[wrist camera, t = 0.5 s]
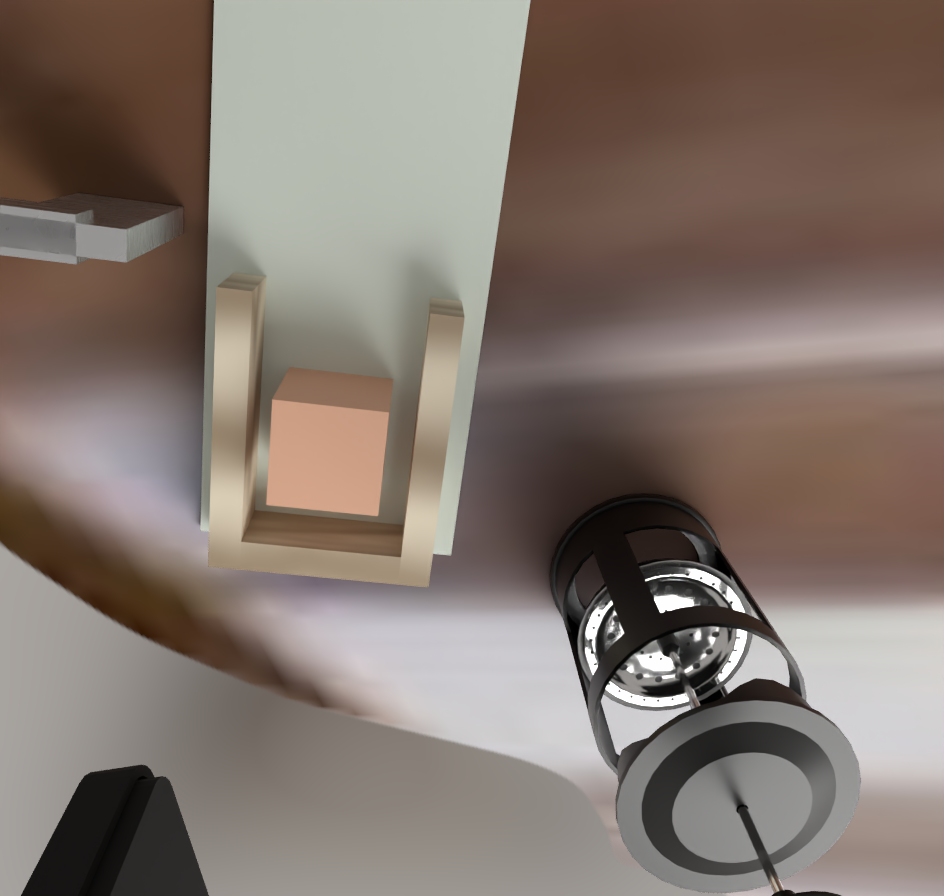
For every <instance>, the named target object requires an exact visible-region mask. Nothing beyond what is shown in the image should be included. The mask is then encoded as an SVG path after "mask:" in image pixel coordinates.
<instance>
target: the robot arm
mask: <svg viewBox="0 0 944 896" xmlns="http://www.w3.org/2000/svg"><path fill="white" fill-rule="evenodd" d="M21 896H209V895H208V892H207V889H206V886H205V883H204V880H203V877H202V874H201V871H200V868H199V865H198V862H197V859H196V856H195V853H194V850H193V847H192V844H191V841H190V839H189V836H188V833H187V830H186V827H185V824H184V821H183V818H182V815H181V812H180V809H179V806H178V803H177V800H176V797H175V794H174V791H173V788H172V786H171V783H170V781H169V780H168V779H167V778H166V777H163V776H161V777H154V775H153V773H152V772H151V770H150V769H149V768H148V767H147V766H145V765H137V766H130V767H124V768H117V769H110V770H104V771H97V772H90V773H89V774H87V775H85V776H84V778H83V779H82V780H81V782H80V783H79V785H78V787H77V789H76V791H75V793H74V795H73V796H72V799H71V801H70V802H69V804H68V806H67V808H66V810H65V812H64V814H63V816H62V818H61V820H60V821H59V823H58V825H57V827H56V829H55V831H54V833H53V835H52V837H51V839H50V841H49V843H48V844H47V847H46V848H45V850H44V852H43V854H42V856H41V858H40V860H39V862H38V864H37V866H36V868H35V869H34V871H33V873H32V875H31V877H30V879H29V881H28V883H27V885H26V887H25V889H24V891H23V893H22V895H21Z"/></svg>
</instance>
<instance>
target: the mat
mask: <svg viewBox="0 0 944 896" xmlns="http://www.w3.org/2000/svg"><path fill="white" fill-rule="evenodd" d="M529 7H530V0H214V24H213V63H212V101H211V140H210V179H209V217H208V256H207V295H206V333H205V372H204V411H203V449H202V488H201V527H200V531H206V532H209V518H210V485H211V452H212V418H213V385H214V351H215V318H216V287H217V286H218V285H219V284H221V283H222V282H223V281H224V280H225V279H227V278H228V277H229V276H230V275H231V274H232V273H242V274H250V275H258V276H266V277H267V280H266V299H265V319H264V339H263V359H262V378H261V398H260V418H259V438H258V458H257V477H256V497H255V510H259V511H269V512H279V513H289V514H299V515H309V516H319V517H329V518H339V519H349V520H359V521H369V522H379V523H389V524H399V525H403V521H404V512H405V504H406V495H407V487H408V479H409V470H410V462H411V453H412V445H413V437H414V428H415V420H416V411H417V403H418V395H419V386H420V378H421V370H422V361H423V353H424V344H425V336H426V328H427V319H428V311H429V302H430V297H433V298H441V299H449V300H457V301H462V305H463V311H464V317H465V319H464V327H463V334H462V341H461V349H460V356H459V364H458V371H457V379H456V386H455V393H454V401H453V408H452V416H451V423H450V430H449V438H448V445H447V453H446V460H445V468H444V475H443V482H442V490H441V497H440V505H439V512H438V519H437V527H436V534H435V542H434V549H433V554H442V555H451V551H452V544H453V537H454V530H455V523H456V516H457V509H458V502H459V495H460V488H461V481H462V474H463V467H464V460H465V453H466V446H467V439H468V432H469V425H470V418H471V411H472V404H473V397H474V390H475V383H476V376H477V369H478V363H479V356H480V349H481V342H482V335H483V328H484V321H485V314H486V307H487V300H488V293H489V286H490V279H491V272H492V265H493V258H494V251H495V244H496V237H497V230H498V223H499V216H500V209H501V202H502V195H503V188H504V181H505V174H506V167H507V160H508V153H509V146H510V139H511V132H512V125H513V118H514V111H515V104H516V97H517V90H518V83H519V77H520V70H521V63H522V56H523V49H524V42H525V35H526V28H527V21H528V14H529ZM289 367H294V368H303V369H311V370H320V371H329V372H337V373H346V374H355V375H363V376H372V377H380V378H389V379H393V387H392V397H391V406H390V415H389V425H388V434H387V443H386V452H385V462H384V471H383V479H382V488H381V496H380V504H379V512H378V516H370V515H361V514H351V513H341V512H331V511H321V510H311V509H301V508H291V507H281V506H272V505H266V502H267V484H268V466H269V448H270V430H271V412H272V399H273V397H274V395H275V393H276V391H277V390H278V388H279V386H280V384H281V382H282V380H283V378H284V377H285V375H286V373H287V371H288V369H289Z"/></svg>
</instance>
